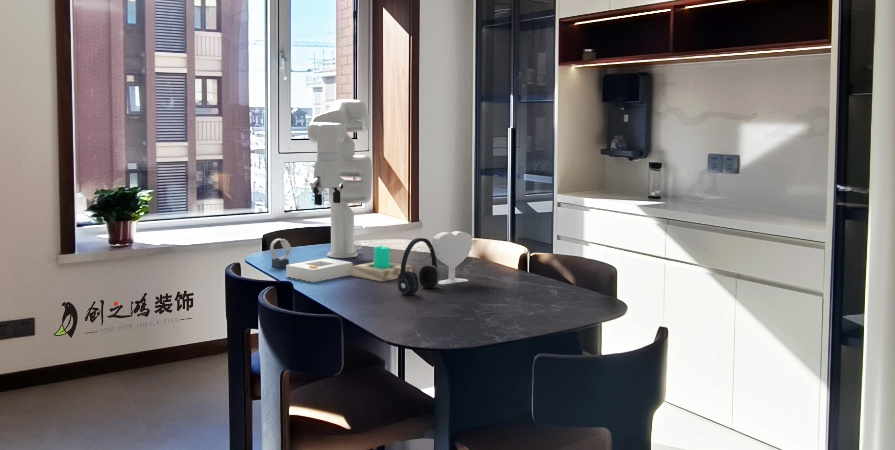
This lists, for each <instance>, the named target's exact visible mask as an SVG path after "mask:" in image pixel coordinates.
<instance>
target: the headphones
mask: <svg viewBox="0 0 895 450" xmlns="http://www.w3.org/2000/svg"><path fill="white" fill-rule="evenodd" d="M420 242H423V243H425V245H426V246H427V248H428V249H429V253H430V257H431V264H430V265H429V264H428V265H424V266H422V267H421V268H420V271H419V275H417V274H416V272H413V271H412V272H411V271H405V269H406V265H407V261H408V258H409V255H410V253H411V251H412V249H413V247H414V246H415V245H416V244H417V243H420ZM400 264H401V270H400V274H399V276H398V278H397V288H398V292H400V293H401V294H403V295H405V296H412V295H415V294H416V293H418V292H417V291H418V290H419V285H420V286H421V287H423V288H426V289H434V288H436V287H437V286H438V285H439V284H438V282H439V281H440V271H439V269H438V264H437V257H436V256H435V251H434V248H433V246H432V242H431V241H430V240H429V239H428V238H423V237H416V238H414V239H412V240H411V241H410V242H409V243H408V244H407V246H406V248H405V250H404V253H403V255H402V259H401V263H400Z"/></svg>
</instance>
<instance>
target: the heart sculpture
mask: <svg viewBox="0 0 895 450" xmlns="http://www.w3.org/2000/svg"><path fill="white" fill-rule="evenodd" d="M431 244H432V246H433V248H434V251H435V256H436V259H437V260H439V261H440V262H441V263H443V264H445V265H446V266H447V267H448V278H447V279H444V280H439V282H438V285H449V284H456V283H462V282H469V280H468V279H466V278H457V277H456V269H457V267H458V266H459V265H460V264H461V263H463V261H464V260H465V259H466V258H467V257H468V256H469V254H470V252H471V250H472V245H473V236H472V235H471V234H470V233H468V232H464V231H460V230H453V231H452V232H447V231H441V232H439V233H437V234H435V235H434V236H433V237H432V242H431Z"/></svg>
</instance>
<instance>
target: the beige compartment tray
mask: <svg viewBox="0 0 895 450" xmlns="http://www.w3.org/2000/svg"><path fill="white" fill-rule="evenodd" d="M400 270H401V263H395V262H390V261H389V268H385V269H379V268H374V261H372V262H367V263H361V264H356V265H353V266H351V275H350V277H351V276H352V277H356V278H362V279H368V280H373V281H377V282H387V281H390V280H391V281H392V280H397V279H398V276H399V274H400ZM405 271H411V272H413V265H411V264H410V265H409V264H406V269H405Z"/></svg>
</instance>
